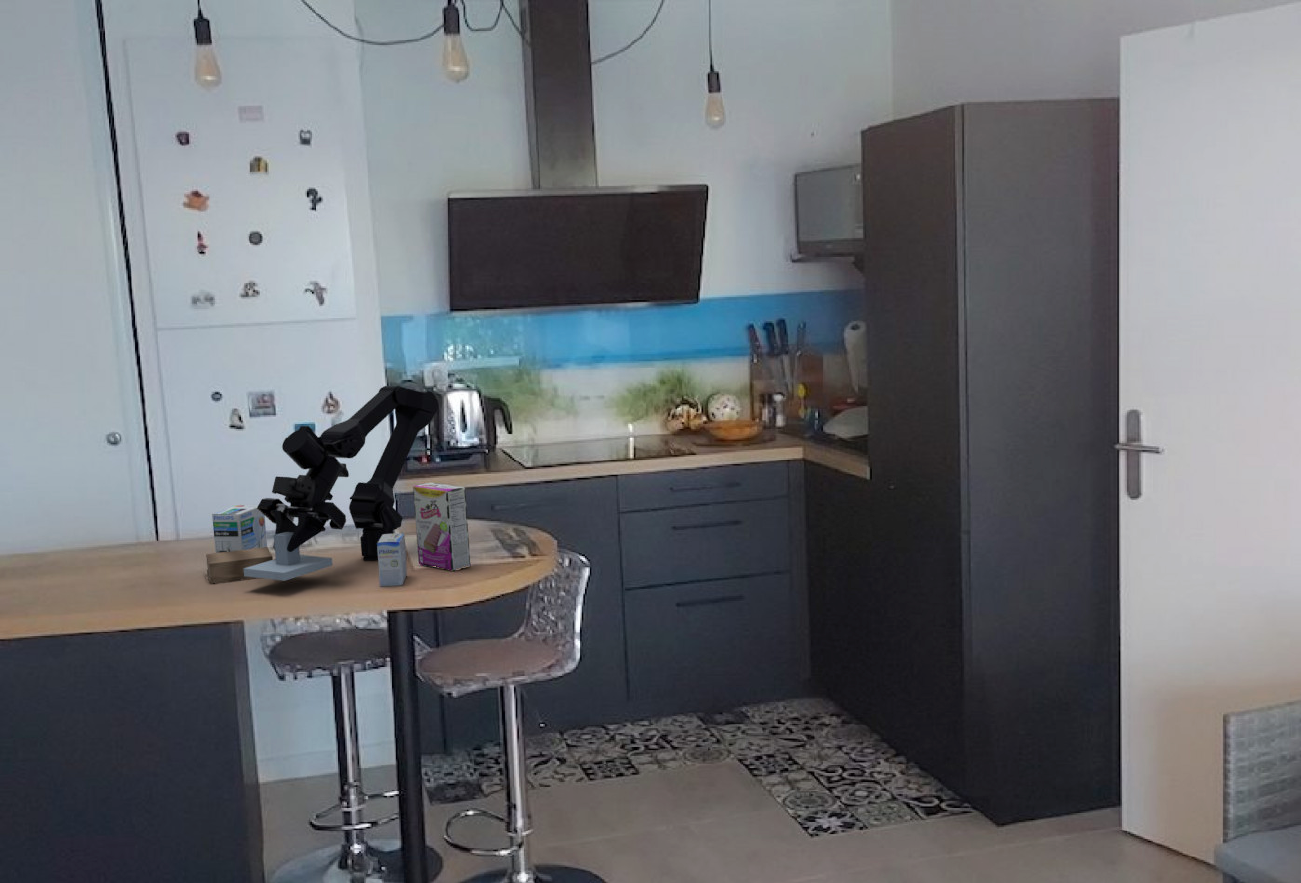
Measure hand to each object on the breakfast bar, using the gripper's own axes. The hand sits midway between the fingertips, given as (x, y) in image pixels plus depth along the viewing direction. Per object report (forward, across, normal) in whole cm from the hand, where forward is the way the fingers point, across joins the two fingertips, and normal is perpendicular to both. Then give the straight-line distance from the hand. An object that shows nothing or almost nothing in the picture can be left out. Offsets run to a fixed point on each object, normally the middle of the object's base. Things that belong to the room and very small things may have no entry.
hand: (281, 550), depth 246 cm
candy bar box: (-12, +19, +23) cm, 32 cm away
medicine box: (-2, +17, +13) cm, 22 cm away
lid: (+2, 0, +4) cm, 5 cm away
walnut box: (+2, -17, +8) cm, 19 cm away
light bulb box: (-6, -29, +17) cm, 34 cm away
